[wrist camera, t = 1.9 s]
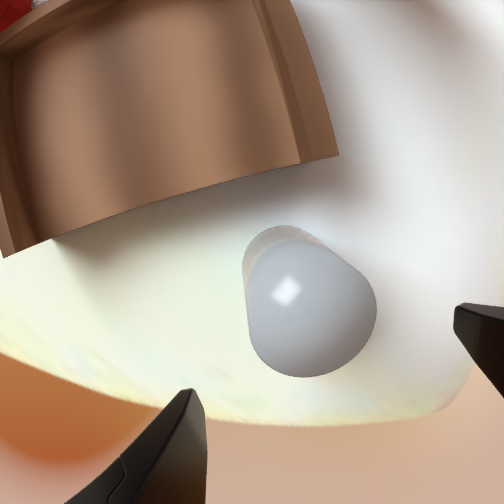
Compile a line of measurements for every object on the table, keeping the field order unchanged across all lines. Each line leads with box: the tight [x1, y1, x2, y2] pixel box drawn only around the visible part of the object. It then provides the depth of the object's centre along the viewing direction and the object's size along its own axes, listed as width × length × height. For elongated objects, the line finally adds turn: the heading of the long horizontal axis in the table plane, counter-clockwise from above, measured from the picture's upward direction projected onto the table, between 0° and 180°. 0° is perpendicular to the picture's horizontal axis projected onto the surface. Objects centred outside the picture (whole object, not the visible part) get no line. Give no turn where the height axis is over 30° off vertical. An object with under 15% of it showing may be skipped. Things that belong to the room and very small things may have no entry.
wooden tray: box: [0, 0, 339, 258], centre depth 13 cm, size 18×14×6 cm
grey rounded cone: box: [242, 226, 376, 377], centre depth 15 cm, size 5×5×8 cm
